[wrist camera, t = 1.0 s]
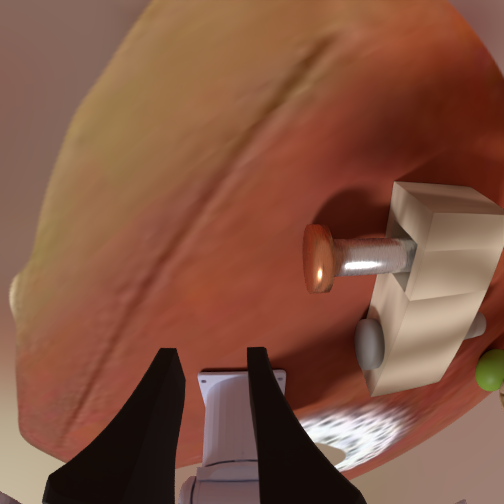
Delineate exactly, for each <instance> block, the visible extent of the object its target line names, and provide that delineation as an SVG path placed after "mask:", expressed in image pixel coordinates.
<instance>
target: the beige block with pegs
mask: <svg viewBox="0 0 504 504" xmlns="http://www.w3.org/2000/svg"><path fill="white" fill-rule="evenodd" d="M396 237H412V238H413V240H414V241H415V242H416V243H417V244H418V246H417V250H416V254H415V258H414V262H413V266H412V269H411V272H400V273H386V274H377V278H376V282H375V286H374V291H373V295H372V299H371V303H370V307H369V310H368V314H367V318H366V319H362V320H359V322H358V323H357V326H356V330H355V353H356V357H357V361H358V364H359V366H360V367H361V369H362V372H363V375H364V378H365V381H366V384H367V386H368V390H369V393H370V396H371V397H374V396H379V395H384V394H389V393H394V392H398V391H403V390H407V389H412V388H416V387H420V386H424V385H428V384H431V383H435V382H439V381H440V379H441V378H442V376H443V374H444V373H445V371H446V370H447V368H448V366H449V364H450V363H451V361H452V359H453V358H454V356H455V354H456V352H457V351H458V349H459V347H460V345H461V343H462V341H463V340H464V339H468V338H472V337H476V336H480V335H482V334H483V333H484V332H485V329H486V319H485V317H484V315H483V314H482V313H481V312H477V311H478V309H479V307H480V305H481V303H482V300H483V298H484V296H485V293H486V291H487V289H488V286H489V284H490V281H491V279H492V276H493V274H494V271H495V269H496V266H497V263H498V261H499V258H500V255H501V252H502V249H503V246H504V209H503V208H501V207H500V206H499V205H497V204H496V203H494V202H493V201H491V200H490V199H488V198H487V197H485V196H484V195H482V194H481V193H479V192H477V191H476V190H474V189H473V188H471V187H466V186H455V185H443V184H429V183H414V182H396V181H394V184H393V192H392V198H391V205H390V211H389V217H388V223H387V229H386V234H385V238H396Z"/></svg>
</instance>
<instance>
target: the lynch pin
mask: <svg viewBox="0 0 504 504" xmlns="http://www.w3.org/2000/svg"><path fill="white" fill-rule="evenodd" d="M417 246H418V244H417V243H416V242H415V241H414V240H413V238H412V237H396V238H361V239H332V235H331V232H330V229H329V227H328V226H327V225H326V224H312V225H307V226H306V228H305V231H304V237H303V268H304V277H305V283H306V287H307V290H308V292H309V293H310V294H315V293H328V292H330V290H331V288H332V285H333V281H334V277H340V276H356V275H372V274H386V273H400V272H411V269H412V266H413V262H414V258H415V254H416V250H417Z"/></svg>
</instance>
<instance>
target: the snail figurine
mask: <svg viewBox="0 0 504 504" xmlns="http://www.w3.org/2000/svg"><path fill="white" fill-rule="evenodd" d="M475 377H476V381H477V383H478V385H479V386H480V387H481V388H482V389H484V390H486V391H495V390H498V389H500V402H501V405H502V408H503V411H504V350H502V349H492V350H490V351H488V352H486V353H485V354H484V355H483V356H482V357H481V358H480V359H479V361H478V363H477V366H476V370H475Z"/></svg>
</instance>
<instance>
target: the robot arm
mask: <svg viewBox="0 0 504 504" xmlns="http://www.w3.org/2000/svg"><path fill="white" fill-rule="evenodd" d="M247 366H248V371H244V372H200V373H199V374H198V381H199V385H200V388H201V392H202V396H203V399H204V403H205V406H206V414H205V429H204V446H203V465H202V467H197V476H191V477H189V478H188V479H187V481H185V483H183V485H182V487H181V490H180V494H179V500H178V504H367V503H366V501H365V499H364V497H363V495H362V494H361V492H360V491H359V490H358V489H357V488H356V487H355V486H354V485H353V484H351V483H350V482H349V481H348V480H347V479H346V478H345V477H344V476H343V475H342V474H341V473H340V472H339V471H338V470H337V469H336V468H335V467H334V466H333V465H332V464H331V463H330V461H329V460H328V459H327V458H326V457H325V456H324V454H323V453H322V452H321V451H320V450H319V449H318V447H317V446H316V445H315V444H314V442H313V441H312V440H311V438H310V437H309V436H308V434H307V433H306V431H305V430H304V429H303V427H302V426H301V424H300V423H299V421H298V419H297V418H296V416H295V415H294V413H293V411H292V409H291V408H290V406H289V404H288V402H287V401H286V399H285V397H284V392H285V382H286V372H285V371H284V370H272V367H271V365H270V362H269V358H268V354H267V349H266V348H264V347H247ZM185 382H186V379H185V376H184V373H183V370H182V366H181V363H180V360H179V356H178V353H177V349H176V348H161V349H159V351H158V353H157V354H156V356H155V358H154V360H153V361H152V363H151V365H150V367H149V368H148V370H147V372H146V373H145V375H144V377H143V378H142V380H141V381H140V383H139V384H138V386H137V387H136V389H135V390H134V392H133V393H132V395H131V396H130V398H129V399H128V400H127V402H126V403H125V404H124V406H123V407H122V409H121V410H120V411H119V412H118V414H117V415H116V416H115V417H114V419H113V420H112V421H111V422H110V423H109V424H108V426H107V427H106V428H105V429H104V430H103V431H102V432H101V433H100V434H99V435H98V436H97V437H96V438H95V439H94V440H93V441H92V442H91V443H90V444H89V445H88V446H87V447H86V448H85V449H83V450H82V451H81V452H80V453H79V454H78V455H76V456H75V457H74V458H73V459H72V460H70V461H69V462H68V463H66V464H65V465H63V466H62V467H60V468H59V469H58V470H56V471H55V472H53V473H52V474H50V475H49V477H48V480H47V482H46V487H45V491H44V495H43V499H42V503H43V504H175V496H174V495H175V488H174V487H175V486H174V485H175V457H176V449H177V443H178V437H179V431H180V425H181V419H182V413H183V408H184V400H185ZM0 504H21V503H19V502H18V501H17V500H15V499H13V498H11V497H10V496H8V495H6V494H4V493H2V492H1V491H0ZM455 504H467V503H466V500H461V501H459V502H457V503H455Z"/></svg>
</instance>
